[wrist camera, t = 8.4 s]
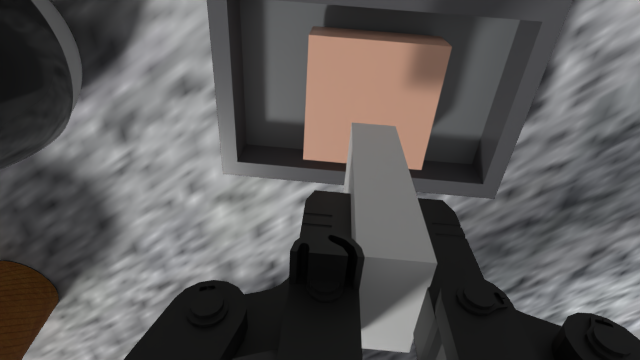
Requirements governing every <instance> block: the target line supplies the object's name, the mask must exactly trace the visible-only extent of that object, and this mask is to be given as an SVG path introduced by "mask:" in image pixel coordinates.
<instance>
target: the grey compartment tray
mask: <svg viewBox="0 0 640 360" xmlns="http://www.w3.org/2000/svg"><path fill="white" fill-rule="evenodd" d="M572 1H573V0H207V8H208V18H209V29H210V40H211V51H212V61H213V72H214V83H215V94H216V105H217V115H218V126H219V137H220V148H221V159H222V169H223V174H228V175H239V176H250V177H261V178H272V179H283V180H294V181H305V182H316V183H326V184H337V185H344V182H345V174H346V165H347V163H338V162H327V161H316V160H305V159H303V151H304V129H305V107H306V85H307V63H308V41H309V33H310V31H311V29H312V27H313V26H319V27H331V28H343V29H356V30H368V31H380V32H393V33H405V34H417V35H429V36H441V37H442V38H443V39H444V40H445V41H447V42H448V43H449V44H450V45H451V46H452V49H451V53H450V57H449V61H448V65H447V69H446V73H445V77H444V81H443V85H442V89H441V93H440V97H439V101H438V105H437V109H436V113H435V117H434V121H433V125H432V129H431V133H430V137H429V141H428V145H427V149H426V153H425V157H424V161H423V165H422V169H421V170H416V169H409V172H410V175H411V178H412V182H413V185H414V188H415V192H425V193H436V194H446V195H457V196H468V197H479V198H490V199H494V198H495V196H496V193H497V191H498V188H499V186H500V183H501V181H502V178H503V176H504V173H505V170H506V168H507V165H508V163H509V160H510V158H511V155H512V153H513V150H514V148H515V145H516V143H517V140H518V138H519V135H520V132H521V130H522V127H523V125H524V122H525V120H526V117H527V115H528V112H529V110H530V107H531V105H532V102H533V100H534V97H535V94H536V92H537V89H538V87H539V84H540V82H541V79H542V77H543V74H544V72H545V69H546V67H547V64H548V62H549V59H550V57H551V54H552V51H553V49H554V46H555V44H556V41H557V39H558V36H559V34H560V31H561V29H562V26H563V24H564V21H565V19H566V16H567V13H568V11H569V8H570V6H571V3H572Z"/></svg>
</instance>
